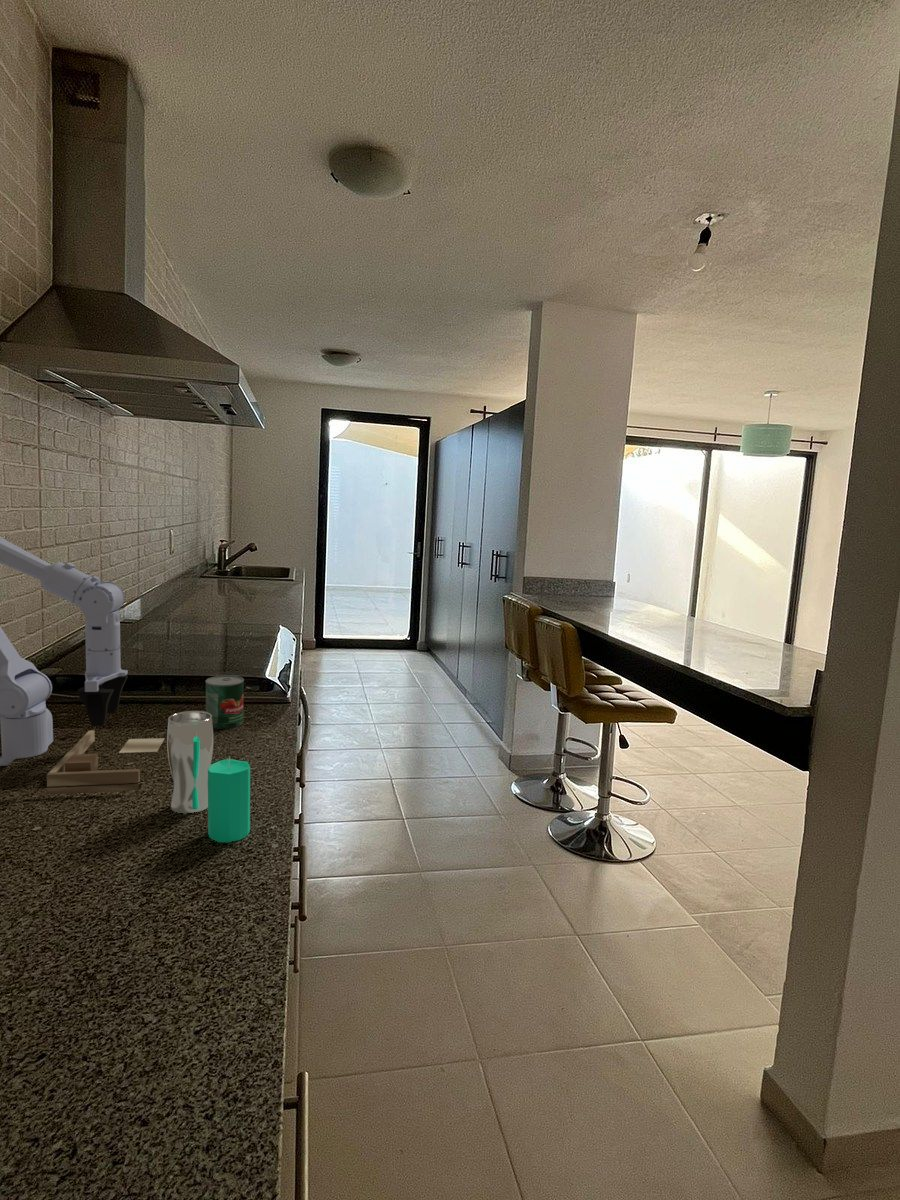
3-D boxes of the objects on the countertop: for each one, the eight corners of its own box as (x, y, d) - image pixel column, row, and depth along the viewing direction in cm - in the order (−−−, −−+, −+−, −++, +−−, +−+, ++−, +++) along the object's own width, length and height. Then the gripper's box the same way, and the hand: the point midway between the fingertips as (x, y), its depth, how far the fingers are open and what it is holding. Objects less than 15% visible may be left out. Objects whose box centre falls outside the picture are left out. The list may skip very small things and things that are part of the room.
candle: (237, 845, 96) (237, 766, 94) (199, 839, 97) (199, 761, 95) (257, 826, 101) (257, 751, 100) (221, 821, 103) (221, 747, 101)
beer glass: (222, 802, 109) (222, 714, 107) (190, 819, 103) (189, 726, 101) (191, 793, 112) (190, 707, 110) (158, 809, 106) (156, 718, 104)
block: (73, 773, 115) (72, 754, 114) (98, 772, 116) (97, 753, 115) (65, 783, 111) (64, 763, 111) (91, 782, 112) (90, 762, 111)
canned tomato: (236, 735, 140) (236, 685, 139) (199, 733, 140) (199, 683, 139) (248, 723, 148) (248, 676, 147) (213, 722, 148) (213, 674, 147)
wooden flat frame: (89, 747, 130) (89, 730, 130) (165, 744, 133) (164, 728, 133) (47, 794, 109) (46, 774, 108) (138, 790, 112) (138, 771, 112)
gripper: (114, 657, 116) (116, 731, 118) (136, 640, 130) (137, 707, 132) (71, 656, 114) (72, 732, 116) (97, 640, 129) (99, 707, 130)
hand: (104, 718), depth 124 cm, fingers open, 7 cm apart
